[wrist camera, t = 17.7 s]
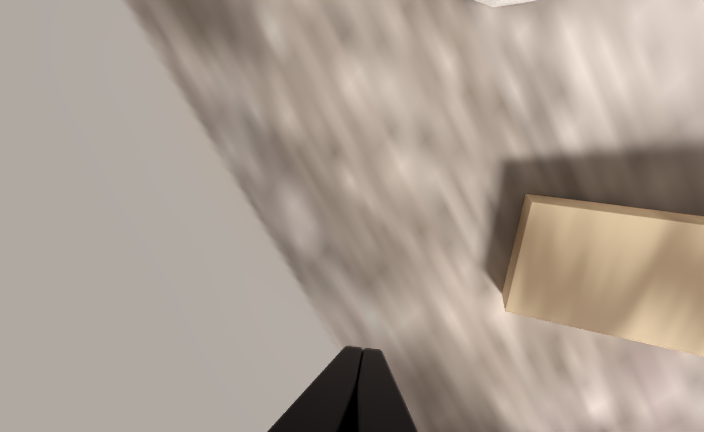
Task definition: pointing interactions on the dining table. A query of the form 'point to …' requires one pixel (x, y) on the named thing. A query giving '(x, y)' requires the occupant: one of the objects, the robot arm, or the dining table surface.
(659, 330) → the domino
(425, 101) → the dining table surface
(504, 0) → the white cup
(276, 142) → the dining table surface
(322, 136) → the dining table surface
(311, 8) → the dining table surface
